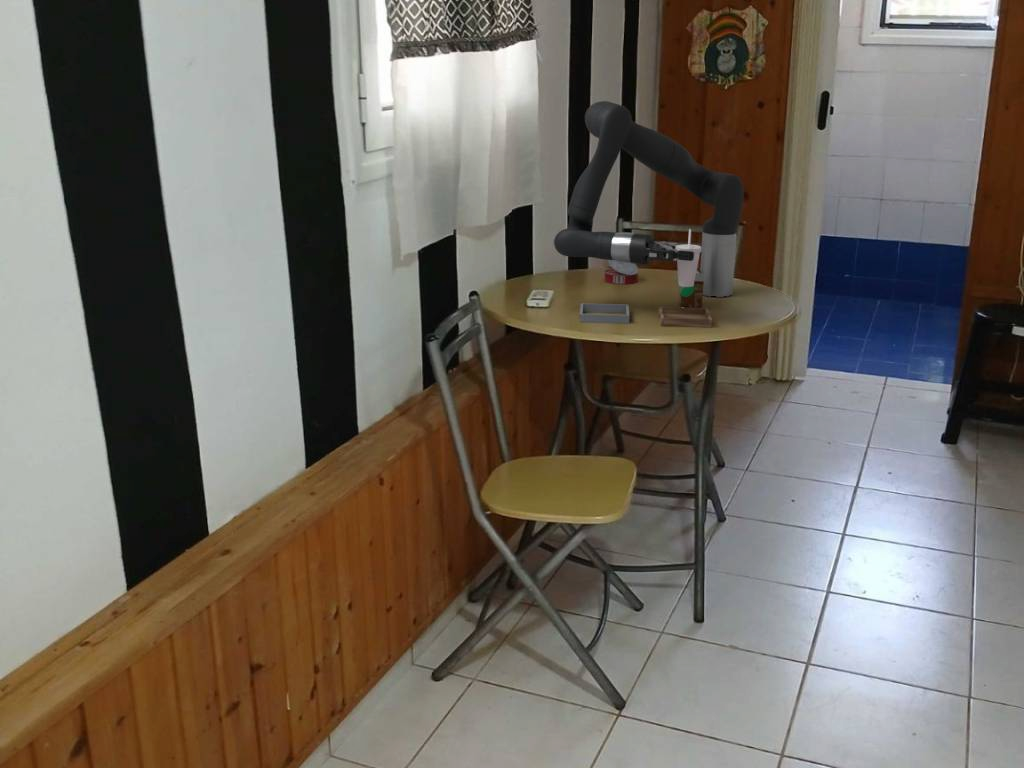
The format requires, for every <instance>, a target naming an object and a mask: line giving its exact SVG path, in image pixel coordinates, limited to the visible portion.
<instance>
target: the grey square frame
mask: <svg viewBox="0 0 1024 768" xmlns="http://www.w3.org/2000/svg"><path fill="white" fill-rule="evenodd" d="M629 306H630V305H629V304H625V303H623V304H622V303H620V304H619V303H618V304H617V303H614V304H613V303H584V302H583V303H580V310H579V323H598V324H600V323H601V324H602V323H603V324H604V323H607V324H630V310H629V309H630V308H629ZM584 312H588V313H584ZM589 312H591V313H589ZM592 312H594V313H592ZM602 313H603V314H602ZM604 313H605V314H604ZM607 313H608V314H607ZM609 313H624V314H609Z"/></svg>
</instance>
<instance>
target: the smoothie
mask: <svg viewBox="0 0 1024 768" xmlns="http://www.w3.org/2000/svg"><path fill="white" fill-rule="evenodd" d="M687 238H688V241H687V242H688V243H685V244H683V245H677V246H676V249H677V250H678V252H679V250H682V251H693V252H694V260H692V261H687V260H676V261H677V263H676V264H677V265H676V266H677V267H676V268H677V275H678V277H677V281H678V286H679V287H680V286H682V287H692V286H694V281H695V276H696V271H697V266H698V267H699V260H700V256H699V255H700V252H701V248H702V245H701V246H700V245H696V244H691V242H692V241H691V239H692V229H691V228H689V229H688V237H687Z"/></svg>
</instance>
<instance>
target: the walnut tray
mask: <svg viewBox="0 0 1024 768" xmlns="http://www.w3.org/2000/svg"><path fill="white" fill-rule="evenodd" d="M658 317H659V322H661V323H660V326H661V327H676V326H679V327H678V328H681V326H687V327H686V328H712V327H713V326H712V324H713V319H712V316H711V314H710V311H709V309H708V308H707V307H702V308H682V307H679V306H678V307H677V306H676V307H675V306H673V307H672V306H669V307H668V306H665V307H664V306H659V307H658Z"/></svg>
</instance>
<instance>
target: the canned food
mask: <svg viewBox="0 0 1024 768" xmlns="http://www.w3.org/2000/svg"><path fill="white" fill-rule="evenodd" d="M607 263H608V266H609V267H611V269H610V268H609V269H606V270H604V283H606V284H611V285H616V286H617V285H618V286H619V285H621V286H624V285H629V286H630V285H634V284H637V283H638V282H639V268H638V266H637V264H635V263H625V262H619V261H615V260H607Z"/></svg>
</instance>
